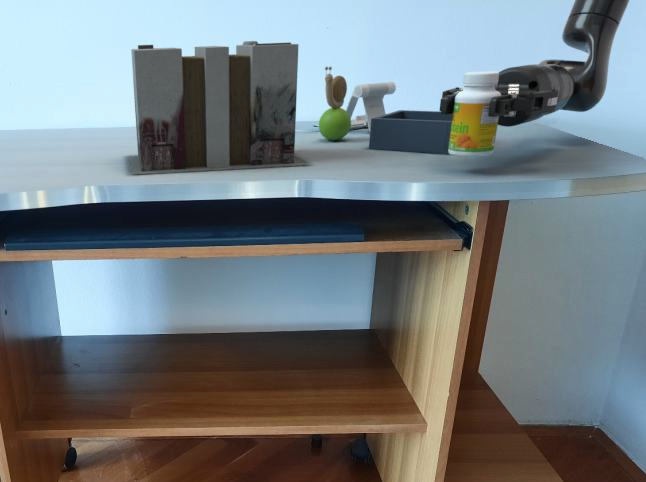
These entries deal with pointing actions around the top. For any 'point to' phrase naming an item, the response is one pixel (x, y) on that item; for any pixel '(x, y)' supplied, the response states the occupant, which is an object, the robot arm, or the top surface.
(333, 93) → the snail figurine
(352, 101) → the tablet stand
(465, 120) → the supplement bottle
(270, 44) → the building model
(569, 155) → the top surface
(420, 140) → the bin
